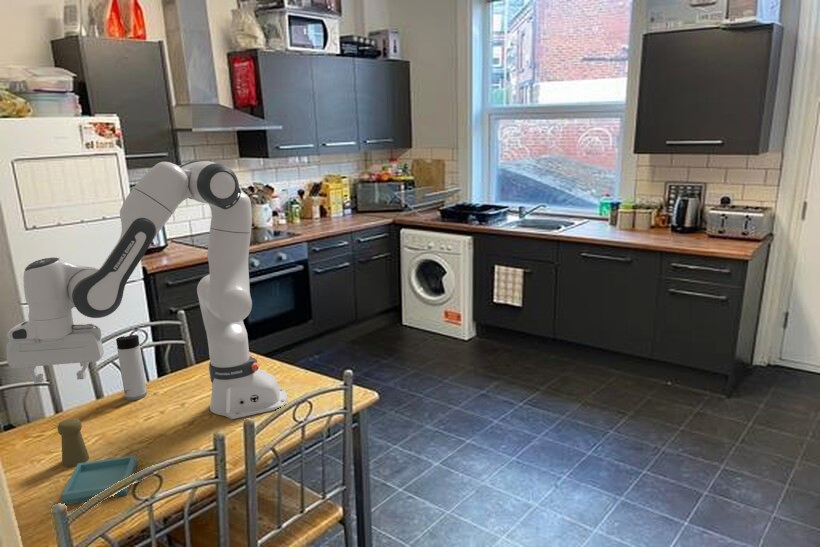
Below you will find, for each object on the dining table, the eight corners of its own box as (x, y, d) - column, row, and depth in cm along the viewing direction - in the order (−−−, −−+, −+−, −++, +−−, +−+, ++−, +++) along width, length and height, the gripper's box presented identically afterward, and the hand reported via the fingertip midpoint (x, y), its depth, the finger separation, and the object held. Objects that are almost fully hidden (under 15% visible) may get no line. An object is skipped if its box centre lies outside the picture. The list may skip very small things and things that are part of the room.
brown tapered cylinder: (77, 468, 146) (70, 427, 143) (56, 465, 147) (48, 425, 144) (94, 455, 151) (88, 415, 149) (74, 452, 153) (67, 414, 150)
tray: (137, 464, 147) (135, 455, 146) (126, 495, 134) (125, 485, 134) (79, 472, 144) (77, 463, 143) (63, 505, 131) (61, 495, 131)
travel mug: (124, 402, 180) (114, 340, 175) (125, 394, 186) (115, 334, 181) (147, 398, 182) (138, 337, 177) (146, 390, 188) (138, 330, 183)
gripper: (103, 319, 146) (110, 371, 149) (10, 325, 142) (19, 378, 145) (96, 327, 140) (103, 381, 143) (-1, 333, 136) (8, 389, 139)
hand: (60, 380), depth 144 cm, fingers open, 8 cm apart
